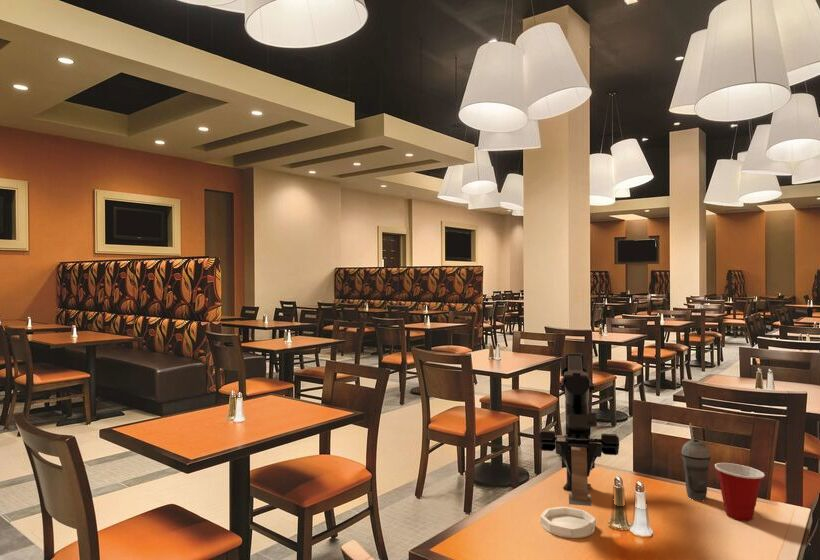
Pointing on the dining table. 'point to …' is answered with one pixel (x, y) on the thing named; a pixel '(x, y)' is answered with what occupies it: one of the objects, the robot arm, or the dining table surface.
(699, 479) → the beverage cup
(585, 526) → the saucer
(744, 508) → the plastic cup
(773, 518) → the dining table surface
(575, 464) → the brown tall rectangular block
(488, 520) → the dining table surface
